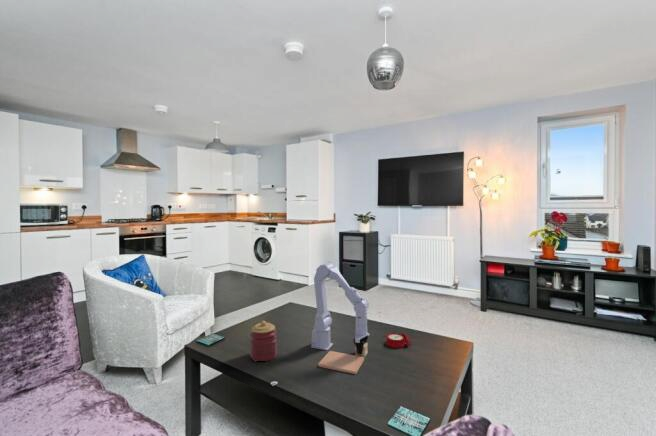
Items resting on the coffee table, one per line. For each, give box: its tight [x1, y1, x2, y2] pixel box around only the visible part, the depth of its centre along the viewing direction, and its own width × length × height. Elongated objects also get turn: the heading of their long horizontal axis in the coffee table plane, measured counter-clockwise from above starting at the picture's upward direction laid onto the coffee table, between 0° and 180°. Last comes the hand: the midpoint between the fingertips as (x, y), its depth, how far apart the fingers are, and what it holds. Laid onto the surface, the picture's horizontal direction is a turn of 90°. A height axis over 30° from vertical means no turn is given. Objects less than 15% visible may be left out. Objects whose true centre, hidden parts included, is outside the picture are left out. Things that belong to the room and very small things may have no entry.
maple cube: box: [354, 342, 369, 358], centre depth 154 cm, size 5×5×5 cm
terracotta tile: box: [317, 350, 365, 375], centre depth 146 cm, size 18×14×1 cm
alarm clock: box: [382, 332, 414, 349], centre depth 166 cm, size 10×6×15 cm
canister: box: [249, 320, 278, 362], centre depth 153 cm, size 13×13×18 cm
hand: (361, 351), depth 154 cm, fingers closed on maple cube, 5 cm apart
